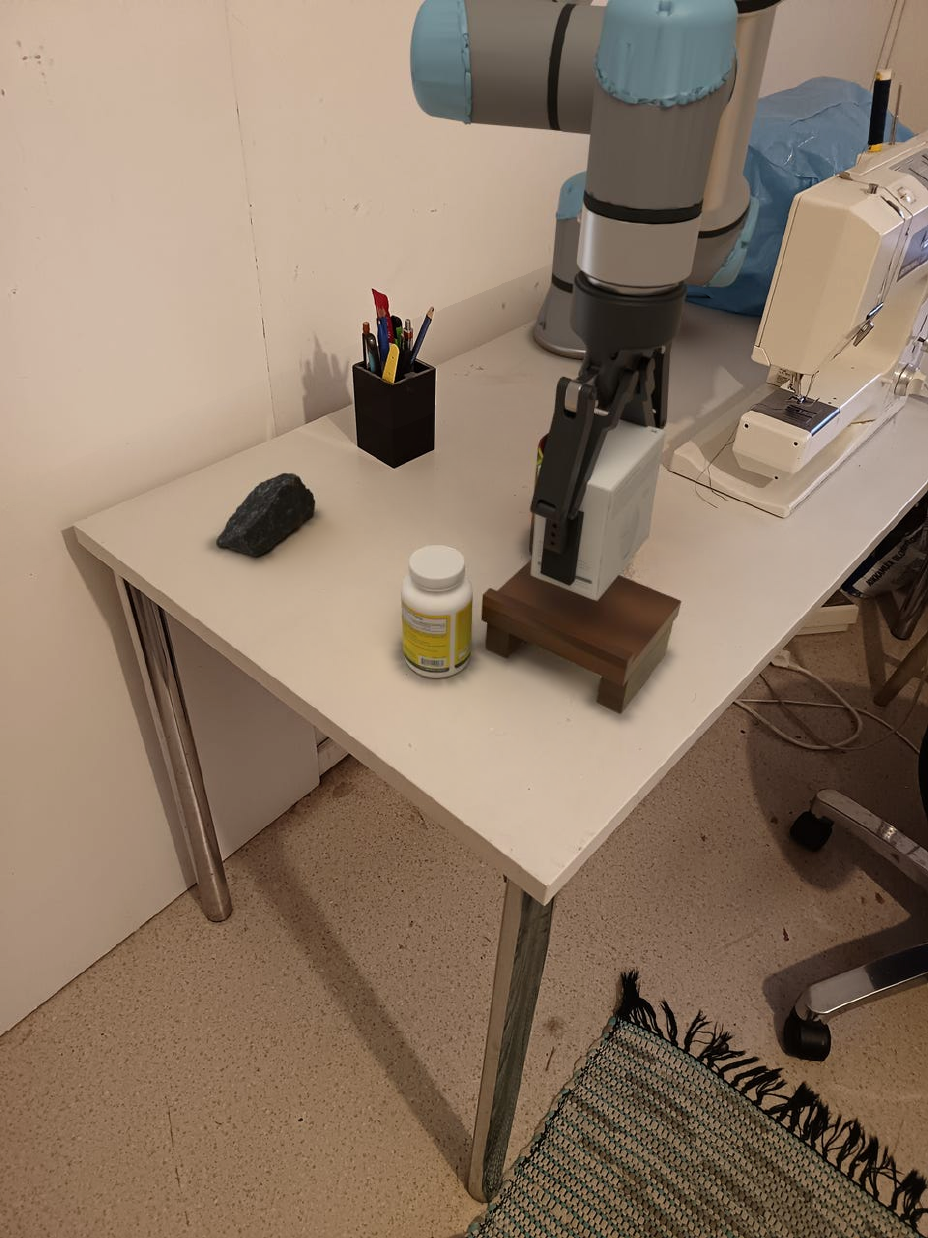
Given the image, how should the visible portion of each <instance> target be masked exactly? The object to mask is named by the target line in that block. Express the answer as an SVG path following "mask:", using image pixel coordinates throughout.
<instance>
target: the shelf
mask: <svg viewBox="0 0 928 1238" xmlns="http://www.w3.org/2000/svg"><path fill="white" fill-rule="evenodd" d="M531 563H532V558H531V559H529V560H528V561H527V562H526V563H525V564H524V565H523V566H522V567H521V568H520V569H519V570H517V572H515V573H514V574H513V575H512V576H511V577H510V578H509V579H508V580H507V581H506V582H505V583H503V584H502V586H500V587H499V588H498V590H496V589H493V588H491V587H489V588H487V590H486V591H485V592H484V593H483V594H482V600H481V601H482V602H481V616H480V617H481V618H480V619H481V621H482V622H483V623H486V632H485V633H486V634H485V649H486V650H488V651H490V652H492V653H493V654H496V655H498V656H500V657H502V658H504V659H506V660H508V659H509V658H510V657H511V656H512V655H513V653H514V652H515V651H517V649H519V647H520V646H521V645H522V644H523V643H524V642H527V643H529V644H532V645H533V646H535V647H538V648H539V649H541V650H543V651H546V652H548V653H550V654H552V655H555V656H557V657H559V658H561V659H562V660H565V661H567V662H569V663H572V664H574V665H576V666H578V667H580V668H582V669H584V670H587V671H589V672H590V673H593V674H595V675H597V676H599V677H600V681H599V685H598V692H597V698H596V703H597V704H599V705H601V706H604V707H605V708H608V709H610V710H611V711H614V712H616V713H618V714H619V715H621V714H623V712H624V710H626V709H627V707H628V705H630V703H631V701H632V700H633V699H634V698H635V696H636V695H637V693H638V692H639V690H641V688H642V687H643V686H644V684H645V683H646V682H647V680H648V679H649V678H650V676H651V675H652V674H653V672H654V671H655V670H656V668H657V667H658V666H659V664H660V663H661V662H662V660H663V659H664V658H665V657H666V653H667V649H668V645H669V641H670V638H671V637H670V636H671V633H672V629H673V624H674V622H675V620H676V619H677V618H678V616H679V614H680V613H679V612H680V609H681V606H682V600H680V599H678V598H676V597H673V596H671V595H668V594H665V593H663V592H661V591H658V590H656V589H654V588H651V587H649V586H646V585H643V584H641V583H639V582H637V581H634V580H632V579H629V578H626V577H625V576H622V575H620V574H619V575H618V576H617V577H616V579H615V580H614V581H613V582H612V584H611V585H610V586H609V587H608V589H607V590H606V591H605V592H604V593H603V595H602V596H601V597H600V598H599V600H598V601H596V600H593V599H590V598H587V597H585V596H582V595H580V594H577V593H575V592H572V591H570V590H567V589H565V588H562V587H560V586H557V585H555V584H552V583H549V582H546V581H543V580H541V579H538V578H536V577H533V576H531V574H530V573H531Z"/></svg>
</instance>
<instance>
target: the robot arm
mask: <svg viewBox="0 0 928 1238" xmlns="http://www.w3.org/2000/svg"><path fill="white" fill-rule="evenodd" d="M593 1H594V0H424V1H423V2H422V4H421V5H420V6H419V8H418V11H417V13H416V15H415V19H414V22H413V26H412V31H411V37H410V47H409V69H410V79H411V88H412V91H413V95H414V98H415V101H416V103H417V105H418V107H419V108H420V109H421V110H422V112H424V113H425V114H426V115H428V116H429V117H432V118H437V119H438V118H439V119H445V120H450V121H456V122H462V124H464V125H471V124H477V125H490V126H499V127H500V126H501V127H513V128H524V129H535V130H546V131H556V132H562V133H569V134H581V135H589V142H588V143H589V144H588V153H587V154H588V155H587V162H586V163H587V164H586V170H584V171H582V172H578V173H576V174H573V175H572V176H570V177H569V178H567V179H566V180H565V181H564V182H563V183H562V185H561V187H560V191H559V197H558V204H557V210H556V212H555V215H554V216H555V231H554V241H553V242H554V244H553V256H552V264H551V265H552V267H551V277H550V285H549V288H548V291H547V293H546V296H545V298H544V299H543V302H542V305H541V307H540V310H539V312H538V315H537V317H536V321H535V325H534V333H533V335H534V336H533V337H534V339H535V342H537V344H538V345H539V346H540V347H542V348H543V349H545V350H547V351H549V352H551V353H553V354H556V355H559V356H562V357H567V358H572V359H577V360H578V359H579V360H582V363H581V365H580V367H579V370H578V375H577V377H575V378H574V379H573V378H569V377H566V376H561V377H560V378H559V380H558V381H557V383H556V388H555V399H554V410H553V415H552V419H551V422H550V427H549V431H548V433H549V434H548V438H547V442H546V446H545V450H544V454H543V458H542V462H541V466H540V470H539V474H538V478H537V482H536V486H535V490H534V489H533V495H532V499H531V502H530V506H529V512H530V513H531V514H532V513H534V514H536V515H539V516H541V517H544V518H546V523H545V532H544V542H543V551H542V561H541V571H540V573H541V574H543V575H545V576H548V577H550V578H552V579H555V580H557V581H559V582H562V583H564V584H566V585H569V586H570V585H571V584H572V583H573V582H574V581H575V575H576V567H577V560H578V553H579V546H580V539H581V531H582V524H583V517H584V512H582V511H579V508H580V505H581V502H582V500H583V497H584V494H585V492H586V486H587V483H588V481H589V480H590V478H591V476H592V473H593V470H594V467H595V465H596V462H597V459H598V457H599V454H600V451H601V449H602V446H603V443H604V440H605V438H606V435H607V433H608V431H610V430H613V429H615V428H616V426H617V424H618V422H619V419H620V420H624V421H627V422H630V423H634V424H637V425H640V426H644V427H648V426H651V427H655V428H659V429H662V430H664V429H665V427H666V425H667V421H668V405H669V404H668V403H669V387H670V386H669V383H670V365H671V364H670V362H671V351H672V346H673V341H674V340H675V339H676V337H677V336H678V334H679V331H680V328H681V322H682V317H683V313H684V307H685V301H686V296H687V293H686V292H687V287H688V286H687V285H689V286H696V287H704V288H706V287H710V288H711V287H712V288H726V287H727V286H730V285H731V284H733V283H734V281H735V280H736V278H737V277H738V275H739V273H740V270H741V268H742V266H743V263H744V260H745V258H746V256H747V252H748V248H749V245H750V242H751V239H752V237H753V234H754V230H755V227H756V224H757V219H758V216H759V210H760V201H759V199H758V198H757V197H754V196H752V195H751V188H750V184H749V182H748V180H747V178H746V177H745V175H744V169H745V164H746V159H747V155H748V150H749V144H750V141H751V140H750V139H751V135H752V129H753V125H754V120H755V115H756V110H757V105H758V101H759V97H760V91H761V86H762V81H763V76H764V72H765V66H766V62H767V58H768V57H767V56H768V51H769V47H770V43H771V37H772V32H773V28H774V22H775V19H776V13H777V8H778V6H780V5H781V4H782V3H783V2H785V1H786V0H608V1H607V2H606V5H592V3H593ZM595 410H599V411H602V412H605V413H606V414H607V415H605V416H602V415H599V414H596V413H597V412H595Z"/></svg>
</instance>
